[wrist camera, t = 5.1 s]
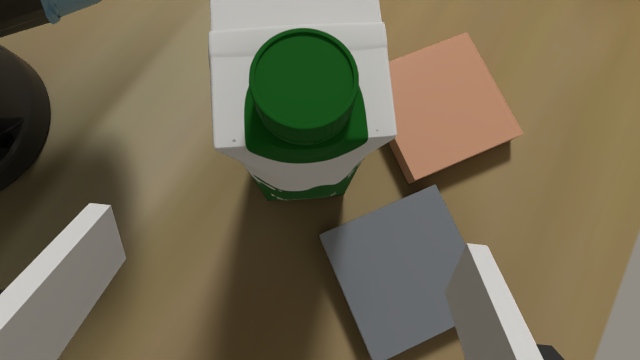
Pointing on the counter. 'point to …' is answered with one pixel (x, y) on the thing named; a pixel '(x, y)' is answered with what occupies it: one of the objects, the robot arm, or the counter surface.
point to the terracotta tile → (446, 108)
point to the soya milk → (299, 91)
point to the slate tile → (397, 271)
